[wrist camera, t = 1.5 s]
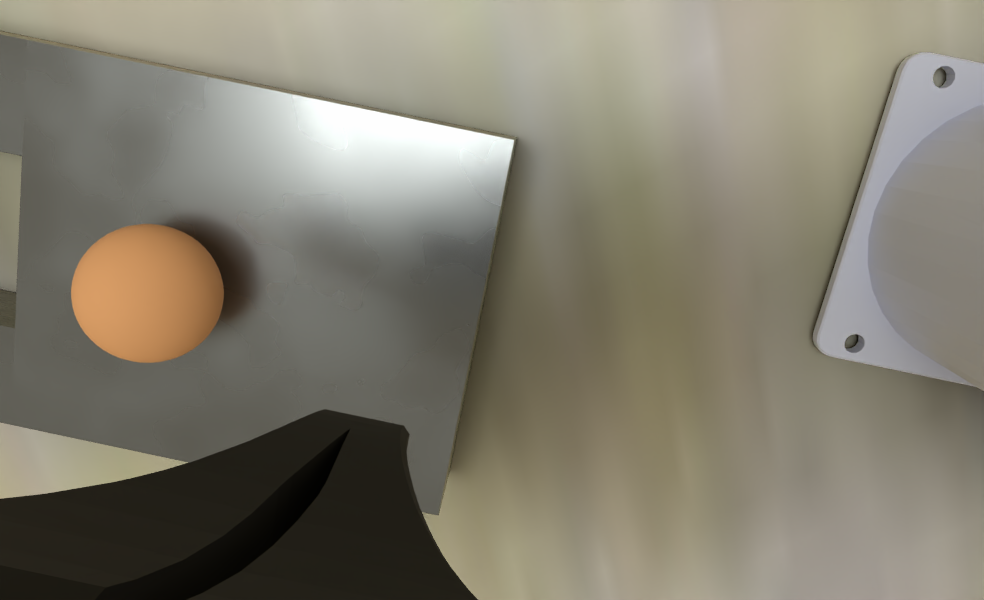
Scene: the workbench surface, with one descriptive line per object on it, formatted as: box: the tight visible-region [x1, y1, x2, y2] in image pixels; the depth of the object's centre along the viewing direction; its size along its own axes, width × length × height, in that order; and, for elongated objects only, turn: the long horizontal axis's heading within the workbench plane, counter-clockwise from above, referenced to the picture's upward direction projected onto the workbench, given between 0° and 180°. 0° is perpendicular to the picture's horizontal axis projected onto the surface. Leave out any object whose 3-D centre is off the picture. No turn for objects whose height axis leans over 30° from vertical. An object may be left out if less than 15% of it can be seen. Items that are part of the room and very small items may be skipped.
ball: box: [71, 224, 224, 363], centre depth 17 cm, size 3×3×3 cm
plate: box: [0, 31, 517, 515], centre depth 20 cm, size 18×10×2 cm, turn 79°
